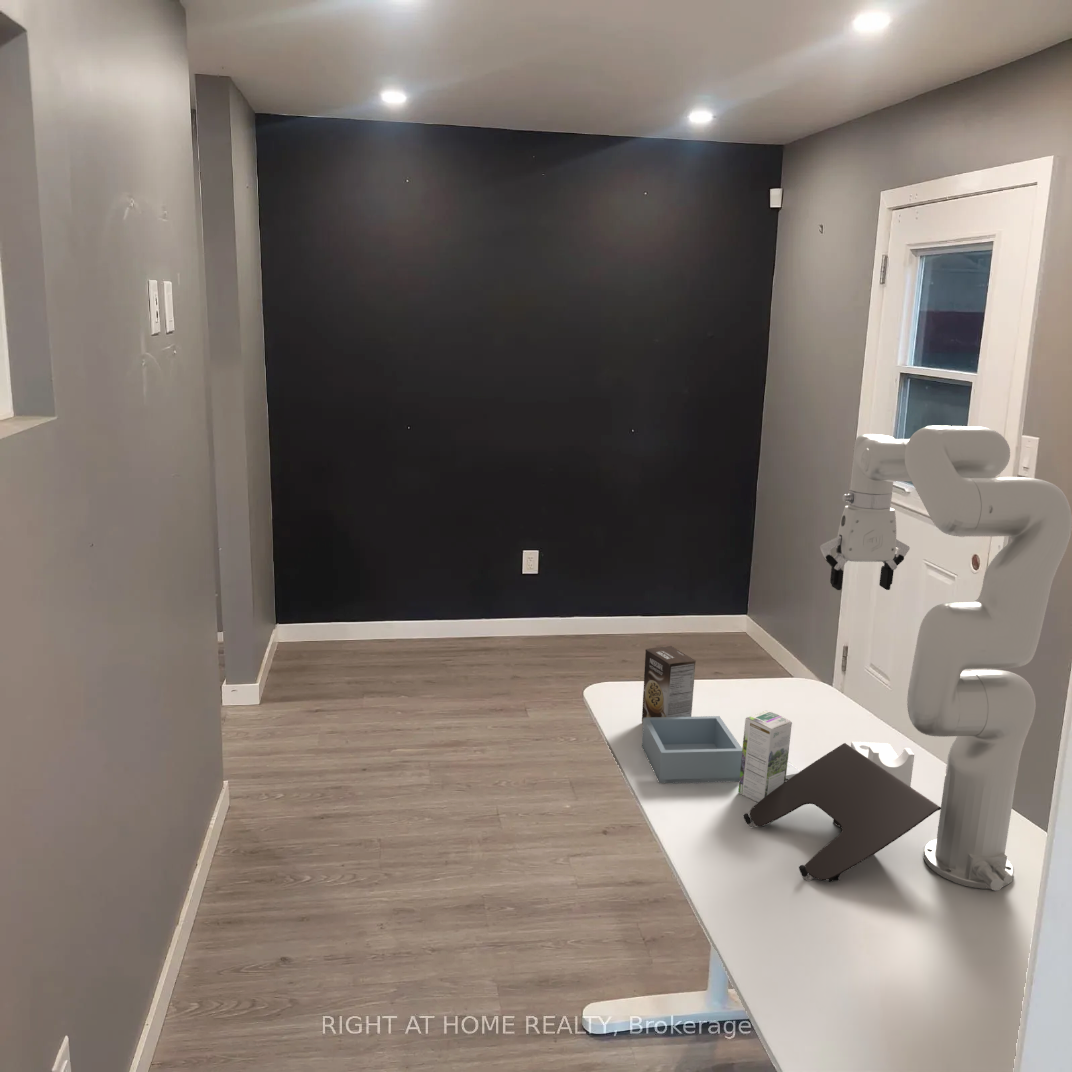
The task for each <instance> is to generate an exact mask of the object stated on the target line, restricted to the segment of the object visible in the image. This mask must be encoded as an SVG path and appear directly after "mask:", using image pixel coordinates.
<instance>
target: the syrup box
mask: <svg viewBox="0 0 1072 1072" xmlns="http://www.w3.org/2000/svg"><path fill="white" fill-rule="evenodd" d="M792 727H793V723H792V721H791V720H790V719H787V718H786V717H784V716H782V715H780V714H779V713H775V712H773V711H769V710H764V711H762V712H758V713H755V714H753V715H750V716H747V717H746V718H745V720H744V727H743V728H744V729H743V741H742V747H743V748H742V759H741V769H740V779H739V782H738V793H739V794H740V795H743V796H744V797H747V798H748V799H750V800H752V801H754V802H756V803H758V802H759V801H761V800H762V799H763V798H764V797H766V796H767V795H768V794H770V793H771V792H772V791H774V790H775V789H776V788H778V787H779V786H780V785H782V784H783V783H784V782H786V781H787V780H786V772H787V763H788V762H789V752H790V744H791V734H792Z"/></svg>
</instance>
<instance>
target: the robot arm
mask: <svg viewBox="0 0 1072 1072" xmlns="http://www.w3.org/2000/svg"><path fill="white" fill-rule="evenodd" d="M1010 458H1011V449H1010V446H1009V442H1008V441H1007V440H1006V438H1005V436H1003V435H1002V434H1001V433H999V432H998V431H997V430H994V429H992V428H988V427H985V426H977V425H976V426H974V425H973V426H972V425H971V426H965V425H963V426H962V425H952V426H951V425H927V426H925V427H922V428H920V429H918V430H916V431H915V432H914V433H912V435H911V436H910V438H895V437H893V436H891V435H887V434H886V435H885V434H879V433H878V434H876V433H865V434H861V435H859V436H857V437H856V439H855V441H854V447H853V457H852V465H851V466H852V467H851V476H850V486H849V489H848V493H845V494H843V495H842V502H847V504H848V505H845V506H844V509H843V512H842V515H841V518H840V522H839V526H838V531H837V536H835V537H834V538H832V539H830V540H828V541H826V542H824V543H821V545H820V546H819V549H820V551H821V554H822V556H823V559H824V560H825V561H826V563H828V565H829V566H830V567H831V570H830V571H831V572H830V581H829V582H830V585H831V587H832V588H834V589H835V590H836V591H841V590H842V588H843V580H844V579H843V578H844V570H843V569H842V567H844V565H845V564H846V563H847V562H848V561H849V562H855V563H856V562H857V563H858V562H860V563H861V562H863V563H864V562H867V563H868V562H869V563H870V562H871V563H873V562H874V563H877V562H879V563H880V562H881V563H883V565H882V566H881V567H880V575H879V586H880V587H881V588H883V589H884V590H886V591H890V590H891V585H892V584H893V579H894V571H895V570H896V569H897V568H898V566H899V565H900V564H901V563H902V562H903V561H904V559H905V557H906V555H907V554H908V552H909V551H910V548H911V547H910V546H909V545H907V543H906V544H905V543H904V542H902V541H900V540H899V539H897V518H896V510H895V508H892V507H891V506H892V498H893V489H894V482H911V483H912V485H913V486H914V488H915V491H916V493H917V494H918V496H919V498H920V500H921V503H922V504H923V506H924V508H925V510H926V511H927V514H928V516H929V517H930V519H931V521H932V522H933V523H934V526H936V528H937V529H938V530H939V531H941V532H942V533H944V534H946V535H948V536H953V537H962V538H964V537H991V538H992V537H1010V542H1008V543H1007V544H1006V545H1004V547H1003V548H1002V549H1000V550H999V552H997V554H996V555H995V556H994V557H993V559H992V560H991V562H990V563H988V566H987V567H986V570H985V572H984V576H983V579H982V580H983V581H982V587H981V590H980V593H979V596H978V598H977V599H976V600H974V601H961V602H959V601H958V602H945V603H944V602H943V603H940V604H937V605H935V606H934V607H932V608H931V609H929V610H928V612H927V613H926V614H925V616H924V617H923V619H922V621H921V623H920V626H919V631H918V635H917V639H916V645H915V650H914V654H913V655H914V656H913V661H912V667H911V672H910V678H909V682H908V689H907V697H906V698H907V701H906V705H907V707H906V708H907V713H908V719H909V720H910V722H911V724H912V726H913V727H914V728H915V729H916V730H917V731H918V732H919V733H921V734H923V735H926V736H929V737H930V736H931V737H955V739H954V741H953V743H952V745H951V746H950V749H949V751H948V755H947V761H946V767H945V774H944V782H943V787H942V788H943V790H942V795H941V796H942V797H941V805H940V807H941V809H940V810H939V811H940V812H939V818H938V819H939V820H938V825H937V827H938V828H937V834H936V839H933V840H930V841H928V843H926V845H925V846H924V849H923V859H924V862H925V863H926V865H927V866H928V867H929V868H930V869H931V870H932V871H933V872H935V873H936V874H938V875H939V876H940V877H943V878H944V879H946V880H949V881H951V882H953V883H956V884H959V885H961V886H965V887H969V888H974V889H975V888H976V889H980V890H981V889H983V890H989V889H990V890H992V891H999V890H1001V889H1002V888H1003V887H1006V886H1007V885H1009V884H1010V883H1012V882H1013V879H1014V873H1015V869H1014V866H1013V864H1012V862H1011V861H1010V860H1009V859H1008V856H1007V854H1006V848H1007V841H1008V835H1009V829H1010V821H1011V816H1012V809H1013V803H1014V798H1015V797H1014V796H1015V789H1016V782H1017V777H1018V771H1019V764H1020V759H1021V755H1022V750H1023V748H1024V744H1025V741H1026V739H1027V736H1028V734H1029V731H1030V729H1031V727H1032V724H1033V721H1034V717H1035V713H1036V707H1037V706H1036V705H1037V704H1036V696H1035V693H1034V690H1033V687H1032V685H1030V683H1029V682H1028V680H1026V679H1025V678H1024V677H1023V676H1021V675H1019V674H1017V673H1014V672H1012V671H1008V670H1002V669H1012V668H1013V669H1014V668H1020V667H1024V666H1025V665H1027V664H1029V663H1030V662H1031V661H1032V660H1033V658H1034V656H1035V654H1036V651H1037V647H1038V645H1039V641H1040V637H1041V634H1042V630H1043V624H1044V620H1045V616H1046V611H1047V606H1048V603H1049V598H1050V592H1051V587H1052V584H1053V581H1054V579H1055V576H1056V573H1057V570H1058V568H1059V566H1060V564H1061V562H1062V559H1063V557H1064V555H1065V553H1066V551H1067V548H1068V546H1069V542H1070V539H1071V534H1072V511H1071V506H1070V503H1069V500H1068V498H1067V495H1065V493H1064V492H1063V490H1062V489H1061V488H1060V487H1058V486H1057V485H1056V484H1055V483H1052V482H1049V481H1046V480H1044V479H1040V478H1033V477H1023V476H998V475H1000V474H1001V473H1003V471H1004V470H1005V469H1006V468H1007V466H1008V464H1009V462H1010ZM834 548H835V550H836V551H835V552H836V554H835V556H833V555H832V552H831V551H832V549H834ZM896 548H897V553H896Z"/></svg>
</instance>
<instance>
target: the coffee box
mask: <svg viewBox="0 0 1072 1072" xmlns="http://www.w3.org/2000/svg"><path fill="white" fill-rule="evenodd" d="M696 662H697V660H696V659H694V658H693V657H690V656H689V655H687V654H685V653H684V652H682V651H680V650H679V649H677V648H675V647H674V646H672V645H669V646H657V647H649V648H646V649H645V657H644V676H643V692H642V693H643V695H642V710H641V711H642V713H641V723H642V724H643V718H648V717H692V714H693V713H692V712H693V701H694V700H693V699H694V686H695V678H696V677H695V676H696V674H695V673H696Z"/></svg>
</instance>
